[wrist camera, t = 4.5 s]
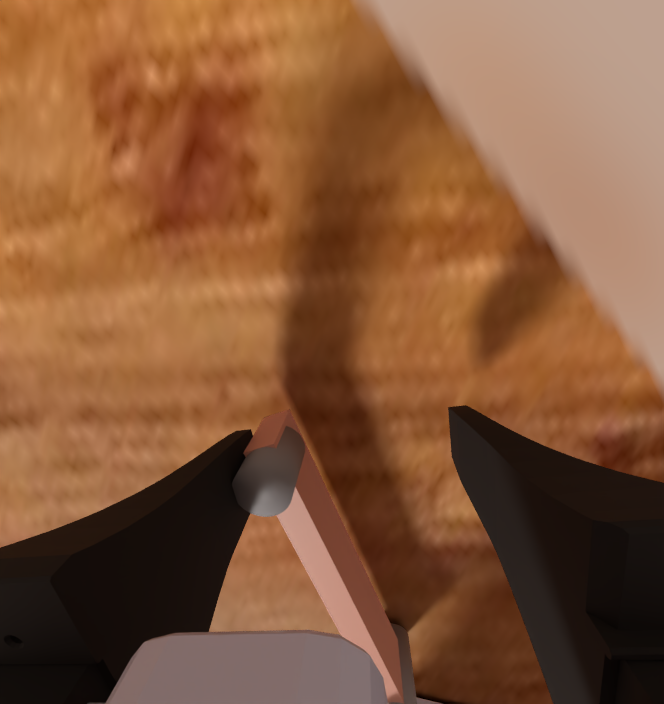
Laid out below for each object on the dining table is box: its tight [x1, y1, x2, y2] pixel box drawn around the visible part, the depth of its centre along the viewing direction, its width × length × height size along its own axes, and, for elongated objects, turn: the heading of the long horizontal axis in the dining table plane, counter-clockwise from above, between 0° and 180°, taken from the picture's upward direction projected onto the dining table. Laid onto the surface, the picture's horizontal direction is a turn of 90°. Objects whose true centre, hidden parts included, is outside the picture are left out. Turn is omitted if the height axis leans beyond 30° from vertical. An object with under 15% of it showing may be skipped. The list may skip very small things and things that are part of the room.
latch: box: [232, 409, 417, 704], centre depth 14 cm, size 16×2×4 cm, turn 22°
